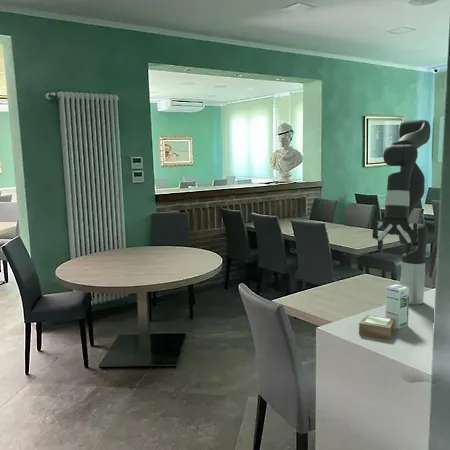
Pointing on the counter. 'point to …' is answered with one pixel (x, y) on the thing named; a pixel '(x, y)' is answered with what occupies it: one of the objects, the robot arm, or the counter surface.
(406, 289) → the syrup box
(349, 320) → the counter surface
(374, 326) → the plinth
